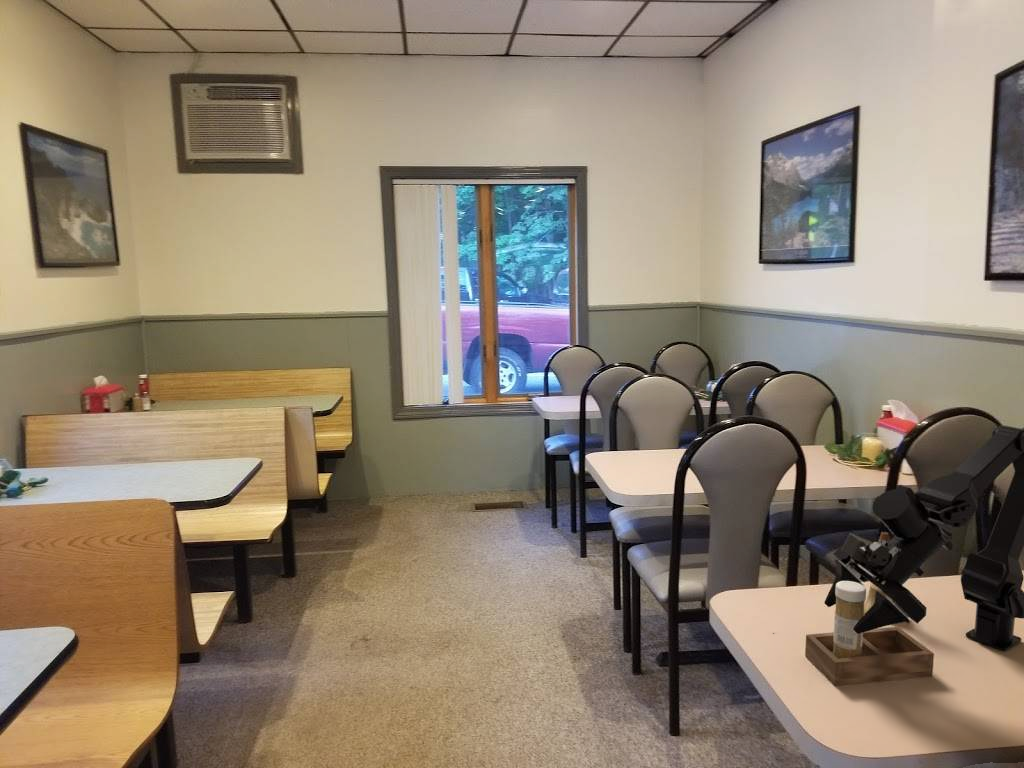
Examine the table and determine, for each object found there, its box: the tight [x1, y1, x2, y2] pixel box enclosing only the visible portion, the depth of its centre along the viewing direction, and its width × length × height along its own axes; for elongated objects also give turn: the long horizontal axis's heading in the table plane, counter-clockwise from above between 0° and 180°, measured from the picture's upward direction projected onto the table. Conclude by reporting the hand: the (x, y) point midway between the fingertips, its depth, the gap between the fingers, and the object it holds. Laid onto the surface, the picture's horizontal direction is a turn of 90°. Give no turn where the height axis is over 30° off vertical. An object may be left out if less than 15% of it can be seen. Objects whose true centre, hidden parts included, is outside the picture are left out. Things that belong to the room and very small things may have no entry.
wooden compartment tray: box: [804, 626, 935, 687], centre depth 120 cm, size 17×9×4 cm, turn 97°
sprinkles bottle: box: [833, 581, 867, 659], centre depth 118 cm, size 5×5×14 cm
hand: (840, 617), depth 118 cm, fingers open, 9 cm apart
